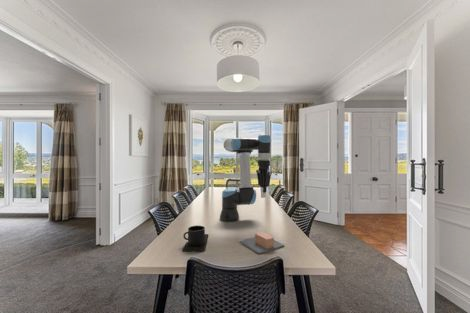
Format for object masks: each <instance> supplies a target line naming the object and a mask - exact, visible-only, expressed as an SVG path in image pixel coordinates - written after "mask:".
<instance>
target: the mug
mask: <svg viewBox="0 0 470 313" xmlns="http://www.w3.org/2000/svg"><path fill="white" fill-rule="evenodd" d="M205 234H206V227H205V226H202V225H192V226H189V227H188V228H187V231H185V232H184V233H183V239H184V240H185V241H187V242H188V245H189V246H191V247H200V246H202V245H204V244H205ZM186 235H187V236H186Z"/></svg>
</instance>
